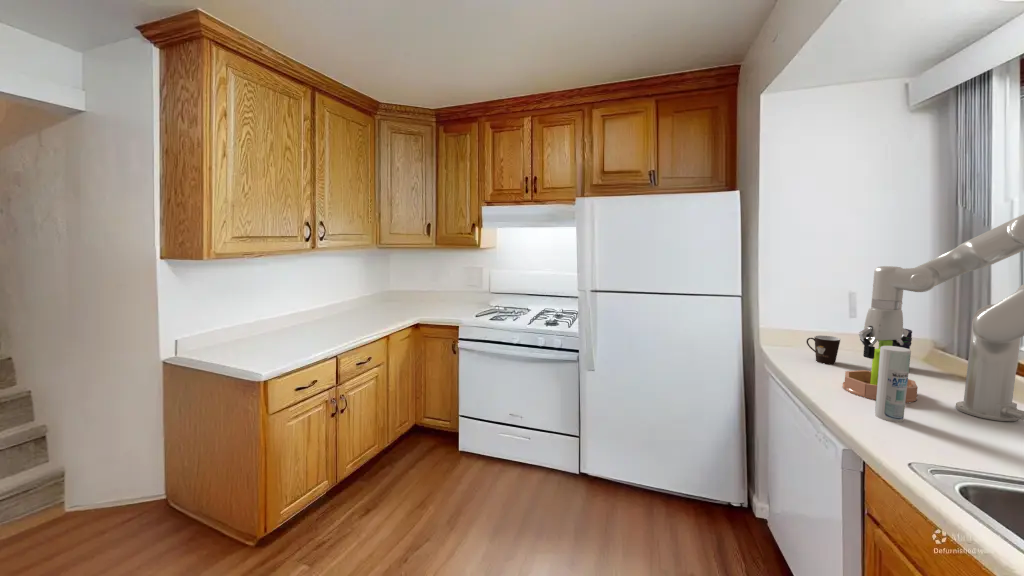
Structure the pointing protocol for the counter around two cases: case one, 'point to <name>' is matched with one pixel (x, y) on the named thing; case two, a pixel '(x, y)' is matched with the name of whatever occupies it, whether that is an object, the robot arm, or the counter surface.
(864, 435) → the counter surface
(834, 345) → the coffee mug
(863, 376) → the bowl
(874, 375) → the soap dispenser
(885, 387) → the spray can
